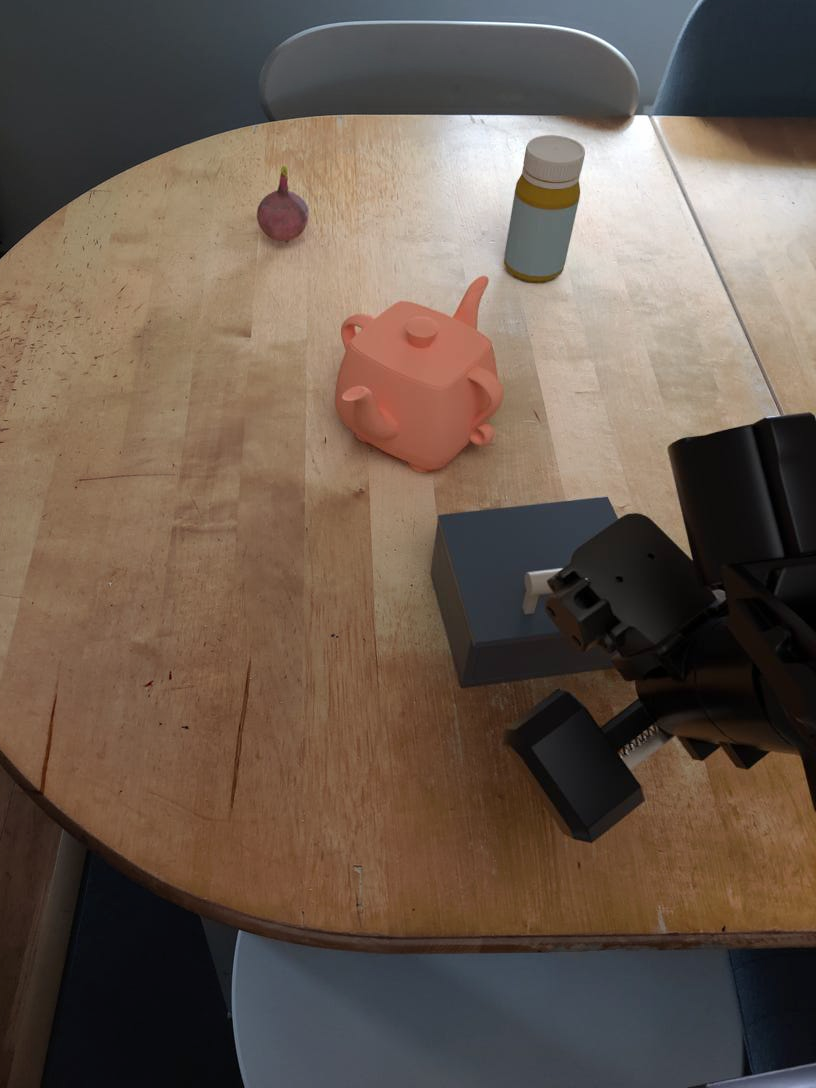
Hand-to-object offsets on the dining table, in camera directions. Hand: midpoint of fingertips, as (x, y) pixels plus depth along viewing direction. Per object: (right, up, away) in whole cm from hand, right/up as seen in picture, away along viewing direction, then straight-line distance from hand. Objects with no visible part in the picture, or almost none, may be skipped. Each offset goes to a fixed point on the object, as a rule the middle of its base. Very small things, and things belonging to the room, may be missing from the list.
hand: (618, 679), depth 53 cm
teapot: (-9, +16, +33) cm, 37 cm away
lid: (-2, +5, +12) cm, 13 cm away
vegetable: (-23, +39, +55) cm, 71 cm away
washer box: (-2, 0, +18) cm, 18 cm away
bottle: (+6, +35, +52) cm, 63 cm away
